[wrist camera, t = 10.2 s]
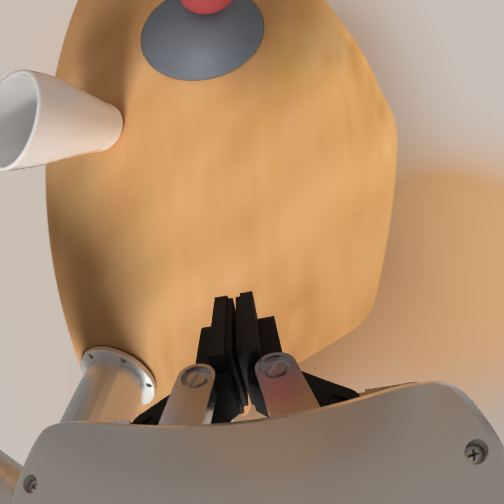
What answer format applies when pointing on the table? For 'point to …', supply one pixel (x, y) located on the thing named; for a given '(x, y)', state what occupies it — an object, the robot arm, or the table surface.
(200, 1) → the ball
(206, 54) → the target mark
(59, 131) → the drinking glass
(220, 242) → the table surface
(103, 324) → the table surface
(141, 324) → the table surface
